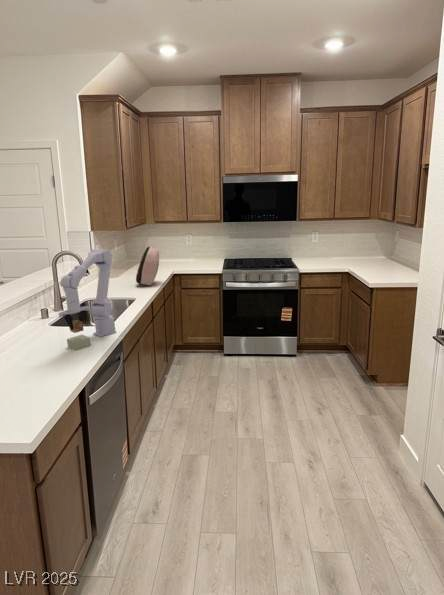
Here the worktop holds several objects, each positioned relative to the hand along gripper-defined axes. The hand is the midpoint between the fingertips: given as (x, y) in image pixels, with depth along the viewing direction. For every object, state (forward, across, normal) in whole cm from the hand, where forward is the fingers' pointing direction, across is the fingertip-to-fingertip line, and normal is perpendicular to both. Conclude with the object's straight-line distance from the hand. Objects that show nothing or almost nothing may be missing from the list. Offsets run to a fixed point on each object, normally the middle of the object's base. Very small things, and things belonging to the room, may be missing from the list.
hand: (76, 327), depth 197 cm
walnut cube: (+2, 0, 0) cm, 2 cm away
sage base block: (+9, 0, 0) cm, 9 cm away
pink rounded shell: (+9, -102, -85) cm, 133 cm away
